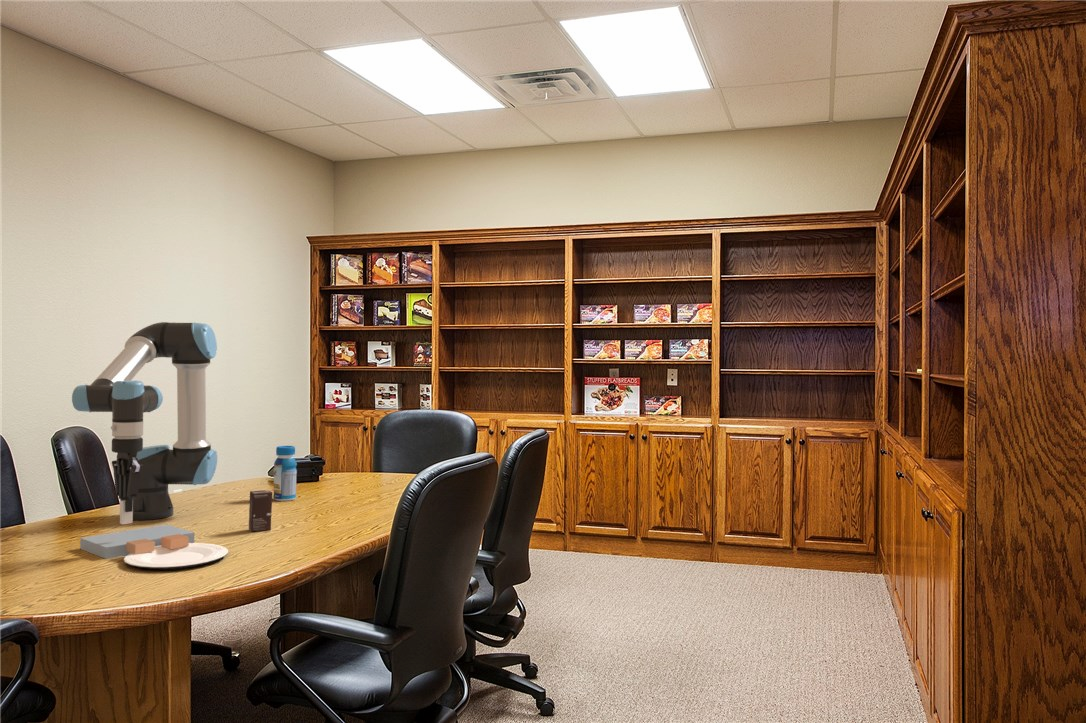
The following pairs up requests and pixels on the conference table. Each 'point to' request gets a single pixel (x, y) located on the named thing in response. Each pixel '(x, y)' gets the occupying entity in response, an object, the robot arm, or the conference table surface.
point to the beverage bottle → (285, 474)
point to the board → (116, 542)
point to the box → (260, 510)
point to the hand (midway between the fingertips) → (126, 523)
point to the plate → (177, 556)
